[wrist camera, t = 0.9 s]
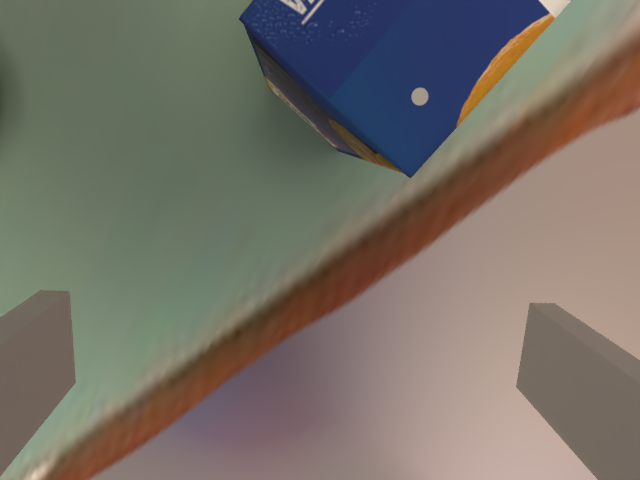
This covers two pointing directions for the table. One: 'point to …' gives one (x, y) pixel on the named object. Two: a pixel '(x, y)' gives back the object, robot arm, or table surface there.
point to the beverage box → (390, 66)
